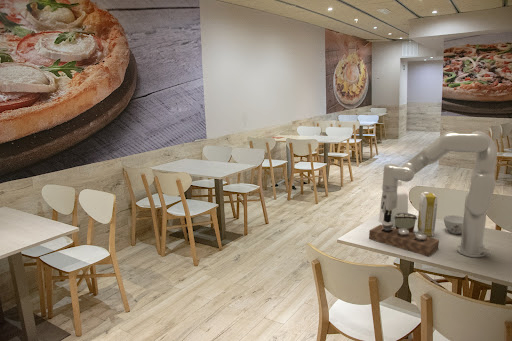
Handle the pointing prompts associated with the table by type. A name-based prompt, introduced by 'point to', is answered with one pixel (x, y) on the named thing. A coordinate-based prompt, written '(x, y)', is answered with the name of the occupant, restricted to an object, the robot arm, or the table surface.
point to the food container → (405, 221)
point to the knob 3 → (420, 236)
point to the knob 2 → (403, 232)
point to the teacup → (454, 223)
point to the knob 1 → (387, 226)
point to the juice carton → (427, 213)
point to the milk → (398, 204)
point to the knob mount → (404, 241)
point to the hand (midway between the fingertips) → (387, 221)
